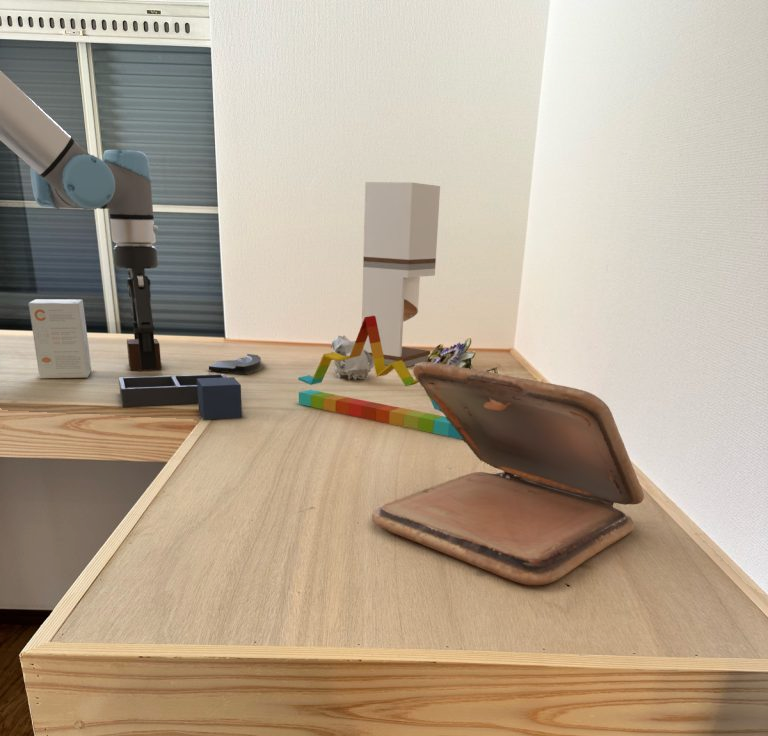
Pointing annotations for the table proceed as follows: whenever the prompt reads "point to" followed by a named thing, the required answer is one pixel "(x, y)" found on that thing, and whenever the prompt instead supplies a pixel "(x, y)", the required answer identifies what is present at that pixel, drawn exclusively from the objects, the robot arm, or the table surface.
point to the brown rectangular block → (135, 355)
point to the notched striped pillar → (397, 259)
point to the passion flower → (455, 355)
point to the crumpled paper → (351, 359)
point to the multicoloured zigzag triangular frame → (372, 409)
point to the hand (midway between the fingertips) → (146, 362)
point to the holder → (161, 389)
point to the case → (521, 477)
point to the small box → (60, 338)
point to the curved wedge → (238, 365)
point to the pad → (219, 398)
